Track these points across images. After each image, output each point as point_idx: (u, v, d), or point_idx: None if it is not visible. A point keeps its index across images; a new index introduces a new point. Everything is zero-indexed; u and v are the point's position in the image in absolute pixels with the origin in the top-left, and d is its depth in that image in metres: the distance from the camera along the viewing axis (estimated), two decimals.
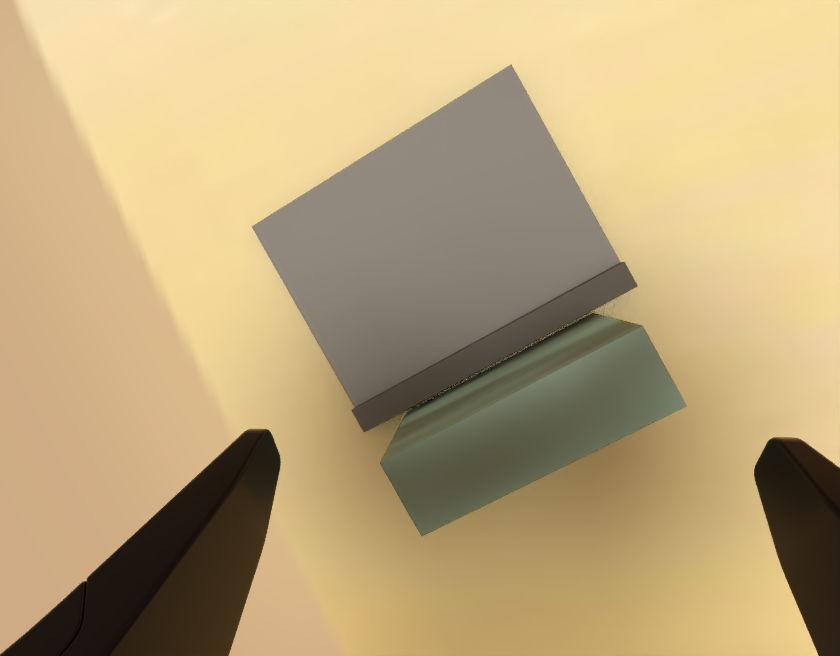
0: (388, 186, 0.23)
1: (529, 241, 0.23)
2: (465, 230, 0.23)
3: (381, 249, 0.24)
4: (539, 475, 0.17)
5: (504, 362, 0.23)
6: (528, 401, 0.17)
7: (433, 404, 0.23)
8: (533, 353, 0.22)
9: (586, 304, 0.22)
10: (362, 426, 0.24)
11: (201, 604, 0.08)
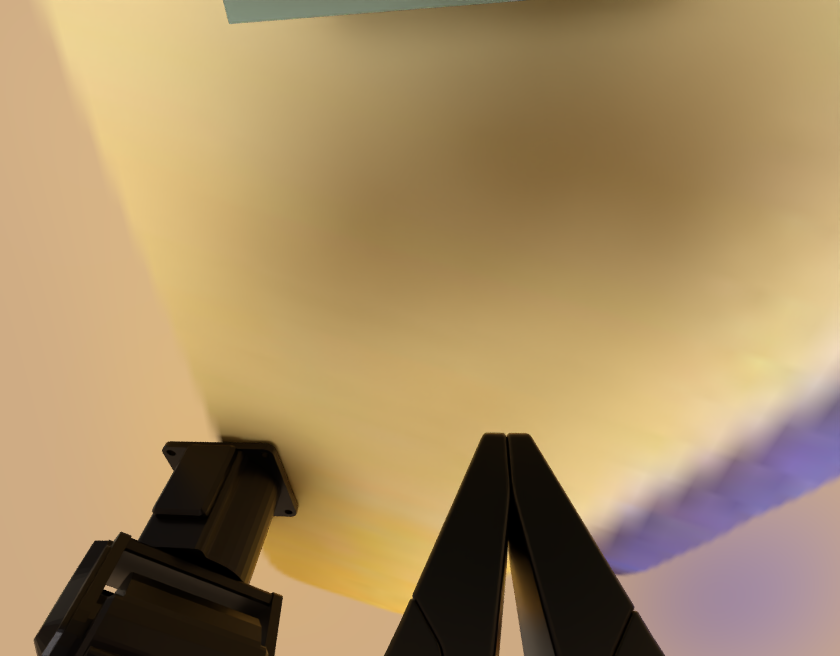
0: None
1: None
2: None
3: None
4: None
5: None
6: None
7: None
8: None
9: None
10: None
11: (500, 621, 0.07)
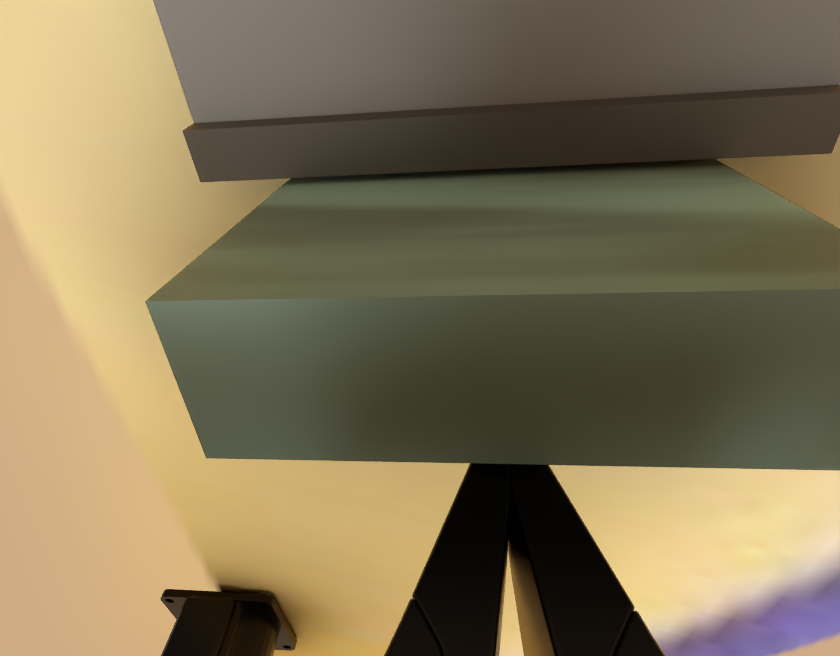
0: None
1: None
2: None
3: None
4: (485, 459, 0.08)
5: (508, 169, 0.12)
6: (554, 326, 0.07)
7: (346, 188, 0.11)
8: (576, 184, 0.11)
9: (722, 142, 0.11)
10: (199, 170, 0.12)
11: (501, 621, 0.07)
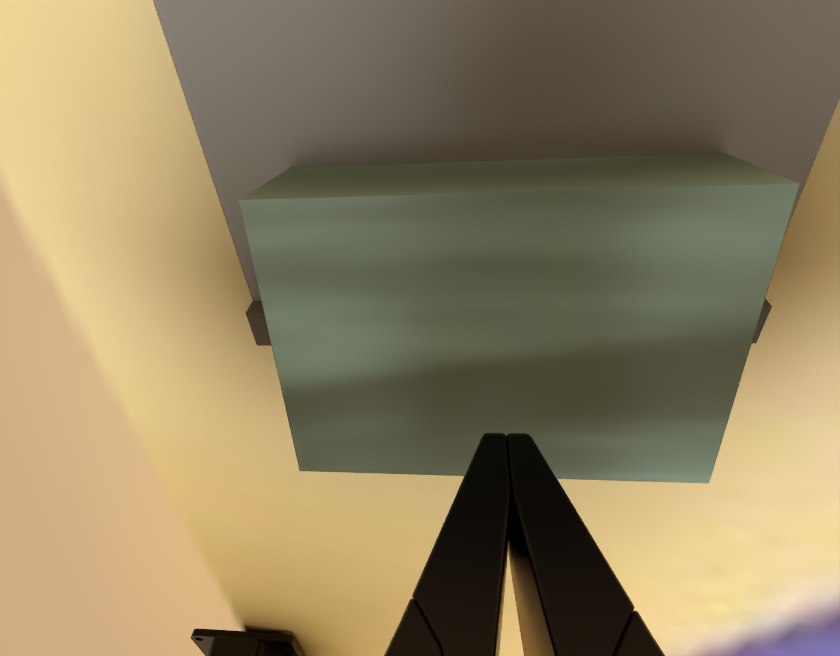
0: None
1: None
2: (575, 117, 0.11)
3: (398, 69, 0.11)
4: (485, 191, 0.09)
5: None
6: (524, 162, 0.11)
7: None
8: None
9: None
10: (257, 337, 0.15)
11: (500, 622, 0.07)
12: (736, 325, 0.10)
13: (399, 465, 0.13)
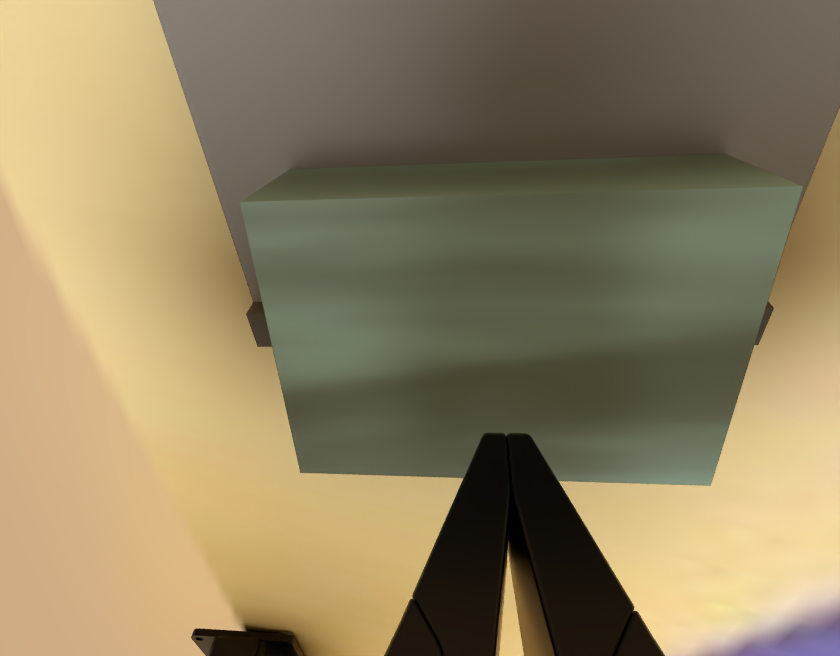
0: None
1: None
2: (577, 119, 0.11)
3: (399, 70, 0.11)
4: (487, 193, 0.09)
5: None
6: (525, 164, 0.11)
7: None
8: None
9: None
10: (257, 338, 0.15)
11: (500, 621, 0.07)
12: (738, 328, 0.10)
13: (400, 467, 0.13)
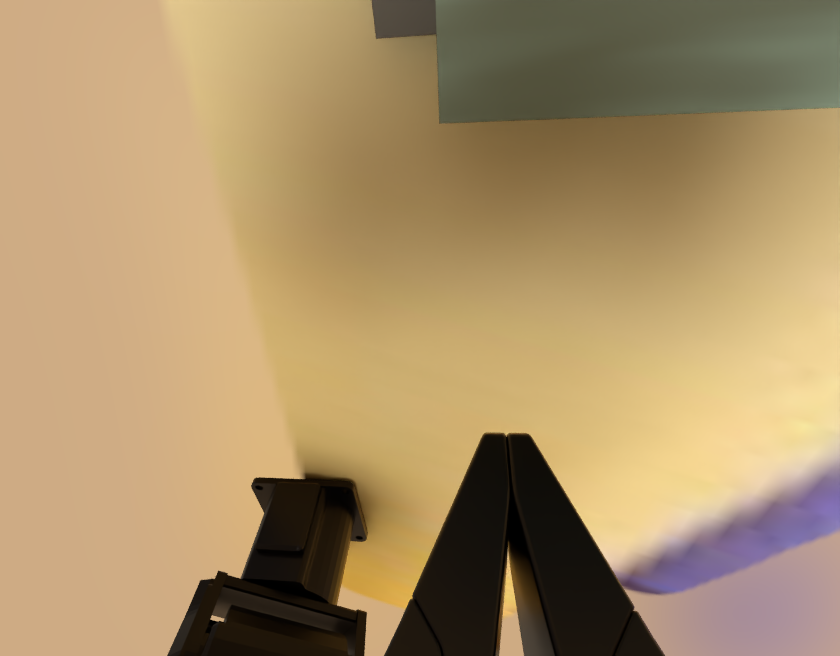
0: None
1: None
2: None
3: None
4: None
5: None
6: None
7: None
8: None
9: None
10: (377, 26, 0.14)
11: (501, 622, 0.07)
12: None
13: (549, 106, 0.12)
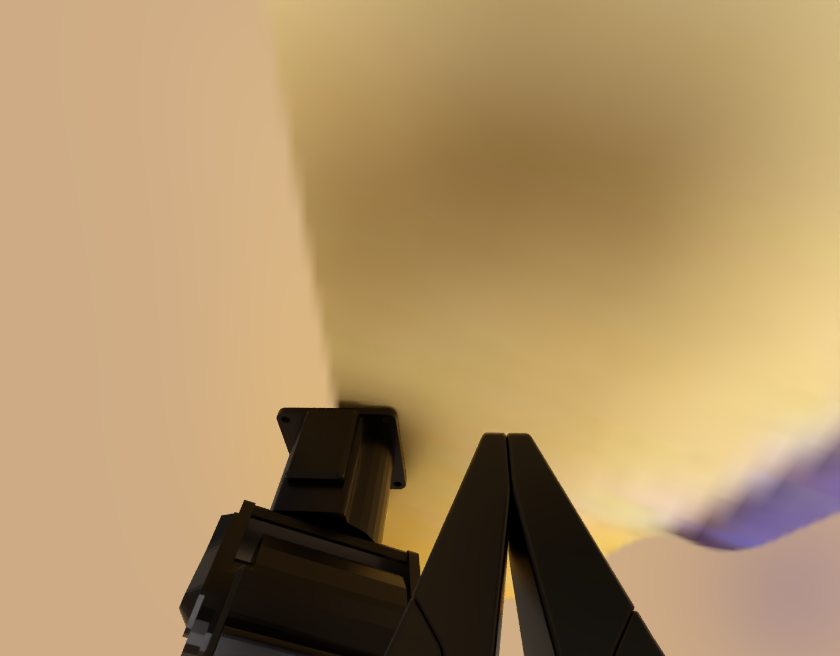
0: None
1: None
2: None
3: None
4: None
5: None
6: None
7: None
8: None
9: None
10: None
11: (500, 621, 0.07)
12: None
13: None
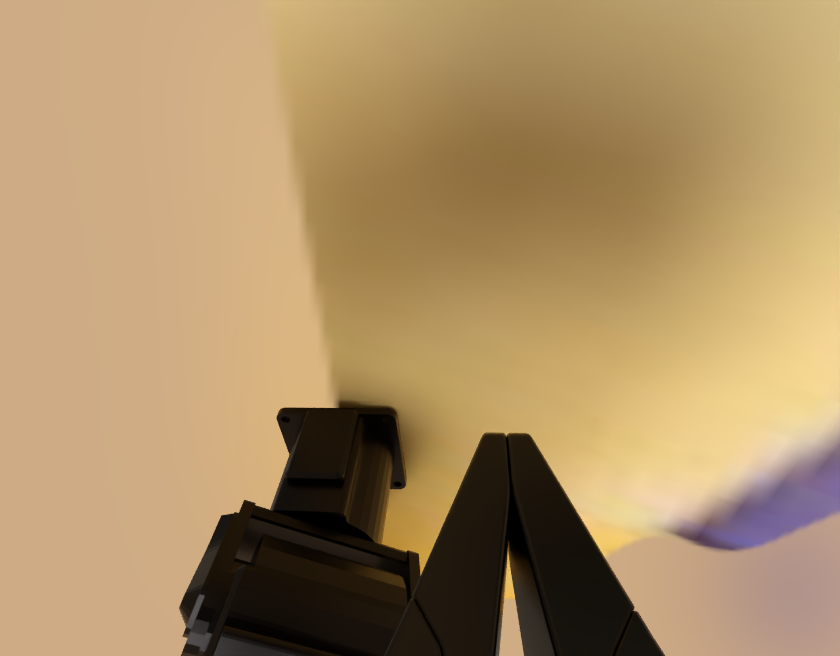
0: None
1: None
2: None
3: None
4: None
5: None
6: None
7: None
8: None
9: None
10: None
11: (500, 621, 0.07)
12: None
13: None
